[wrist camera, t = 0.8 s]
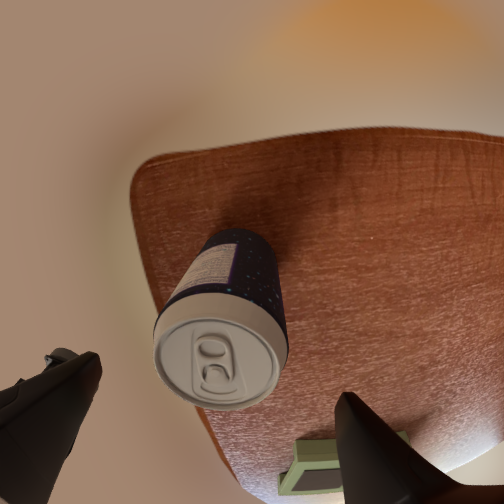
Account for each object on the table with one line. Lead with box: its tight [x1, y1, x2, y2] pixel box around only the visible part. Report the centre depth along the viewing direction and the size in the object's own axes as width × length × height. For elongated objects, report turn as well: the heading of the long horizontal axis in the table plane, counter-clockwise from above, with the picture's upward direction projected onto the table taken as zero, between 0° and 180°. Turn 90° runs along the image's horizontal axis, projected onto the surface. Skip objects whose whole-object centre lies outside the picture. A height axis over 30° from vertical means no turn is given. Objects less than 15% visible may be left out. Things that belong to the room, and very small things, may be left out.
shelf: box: [278, 431, 412, 495], centre depth 27 cm, size 16×12×5 cm
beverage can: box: [153, 228, 289, 411], centre depth 15 cm, size 6×6×12 cm
